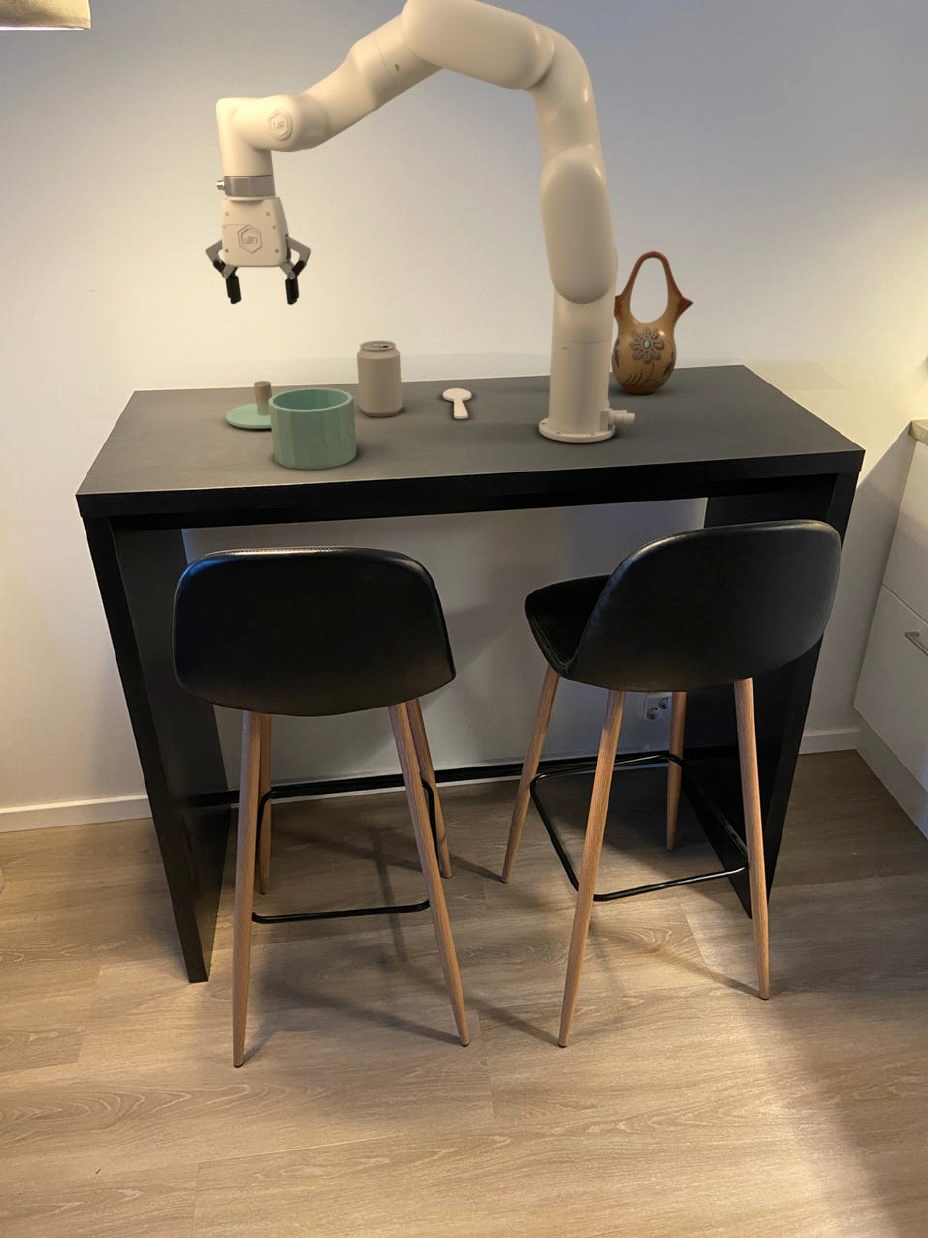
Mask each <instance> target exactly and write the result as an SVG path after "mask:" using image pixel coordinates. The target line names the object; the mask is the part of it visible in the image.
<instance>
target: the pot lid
mask: <svg viewBox="0 0 928 1238" xmlns="http://www.w3.org/2000/svg"><path fill="white" fill-rule="evenodd" d="M253 387H254V395H255V402H254V403H248V404H244V405H240V406H237V407H235V408H232V409H230V410H229V411H227V412H226V414H225V420H226V422H227V423H228V424H230V425H232V426H234V427H238V428H243V429H259V430H260V429H261V430H262V429H271V420H270V411H269V403H268V400H269V399H270V398H271V397H272V396H273V392H272V390H273V389H272V384H271V381H268V380H267V381H266V380H261V381H256V382H254V383H253Z"/></svg>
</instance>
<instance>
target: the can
mask: <svg viewBox="0 0 928 1238" xmlns="http://www.w3.org/2000/svg"><path fill="white" fill-rule="evenodd" d="M359 347H360V349H359V350H358V352H356V364H357V376H358V379H357V380H358V394H359V407H360V410H361V411H362V412H363V413H365V415H367V416H371V417H378V418H380V417H391V416H394V415H397V414H398V413H399V412H400V410H402V408H403V390H402V389H403V388H402V387H403V386H402V363H401V352H400V351H399V350H398V349H397V344H396V343H395V342H393V341H389V340H370V341H365V342H362V343H361V344H359Z"/></svg>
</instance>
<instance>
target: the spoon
mask: <svg viewBox="0 0 928 1238" xmlns="http://www.w3.org/2000/svg"><path fill="white" fill-rule="evenodd" d="M442 398H443V399H444V400H446V401H449V402H453V403H454V404H453V417H454V418H455V419H456V420H457V419H458V420H463V419H467V418H468V417H469V415H468V412H467V409H466V407H465V404H464V402H465V401H468V400H470V399H472V393H471V391H469V390H467V389H465V388H461V387H460V388H459V387H456V388H455V387H453V388H449V389H446V390H444V391H443V393H442Z"/></svg>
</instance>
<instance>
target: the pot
mask: <svg viewBox="0 0 928 1238" xmlns="http://www.w3.org/2000/svg"><path fill="white" fill-rule="evenodd" d="M268 403H269V411H270V420H271V428H270V429H271V437H272V445H273V453H274V460H275V462H276V463H277V464H278V465H280V466H282V467H286V468H288V469H293V470H294V469H296V470H305V471H306V470H309V471H310V470H311V471H312V470H324V469H330V468H337V467H339V466H343V465H345V464H348V463H349V462H351V461H352V460H354V459H355V458H356V456H357V451H358V450H357V440H356V439H357V438H356V436H357V435H356V422H355V410H354V409H355V408H354V398H353V396H352V394H351V393H350V392H347V391H345V390H343V389H337V388H332V387H303V388H295V389H290V390H285V391H281V392H279V393H276V394H274V395H272V397H271V398H270V399H269V400H268Z"/></svg>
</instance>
